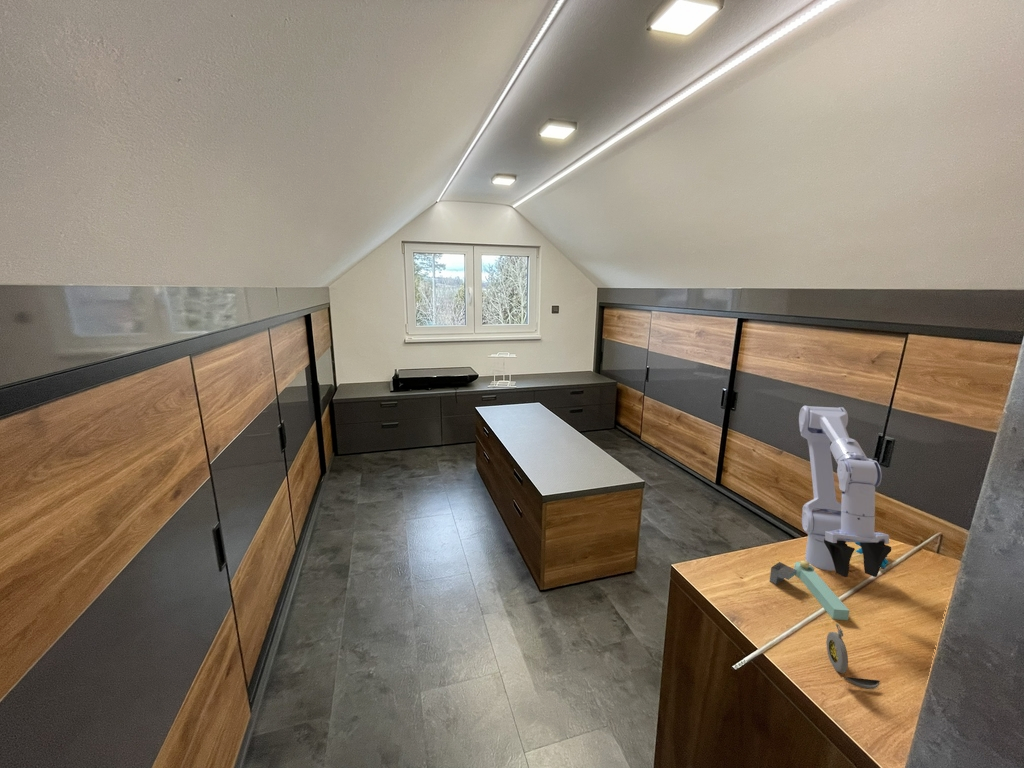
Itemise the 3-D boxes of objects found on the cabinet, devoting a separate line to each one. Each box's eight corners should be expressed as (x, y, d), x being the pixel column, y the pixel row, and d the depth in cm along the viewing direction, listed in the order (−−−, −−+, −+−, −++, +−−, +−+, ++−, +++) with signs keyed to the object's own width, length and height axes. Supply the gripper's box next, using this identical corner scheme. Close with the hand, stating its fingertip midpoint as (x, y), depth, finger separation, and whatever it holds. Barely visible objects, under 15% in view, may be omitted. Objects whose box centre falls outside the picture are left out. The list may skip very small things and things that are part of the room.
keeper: (777, 580, 104) (779, 561, 103) (794, 589, 100) (796, 570, 99) (769, 586, 102) (771, 567, 101) (786, 595, 98) (788, 576, 97)
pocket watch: (888, 685, 75) (896, 639, 73) (855, 698, 73) (863, 651, 71) (841, 650, 83) (848, 607, 81) (811, 661, 81) (817, 617, 79)
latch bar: (790, 569, 106) (792, 557, 105) (807, 570, 105) (809, 558, 104) (830, 618, 89) (832, 604, 88) (850, 620, 89) (852, 605, 88)
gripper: (847, 517, 85) (845, 583, 85) (904, 519, 87) (903, 583, 87) (817, 509, 92) (815, 569, 92) (871, 510, 94) (869, 569, 94)
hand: (856, 575), depth 90 cm, fingers open, 7 cm apart
